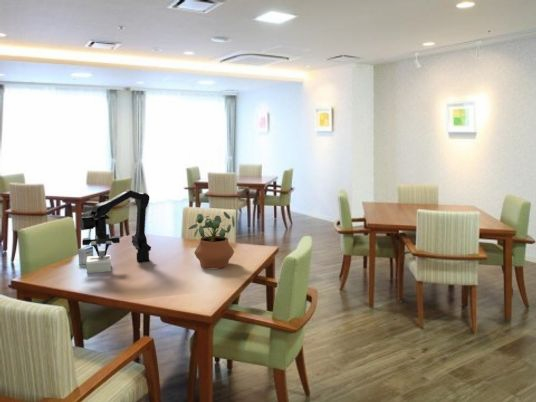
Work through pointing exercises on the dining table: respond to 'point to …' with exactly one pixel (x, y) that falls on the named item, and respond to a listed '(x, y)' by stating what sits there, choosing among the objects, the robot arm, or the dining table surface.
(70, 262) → the dining table surface
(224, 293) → the dining table surface
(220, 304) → the dining table surface
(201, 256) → the potted plant
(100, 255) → the peg
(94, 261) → the keyhole plate
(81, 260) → the medicine box
